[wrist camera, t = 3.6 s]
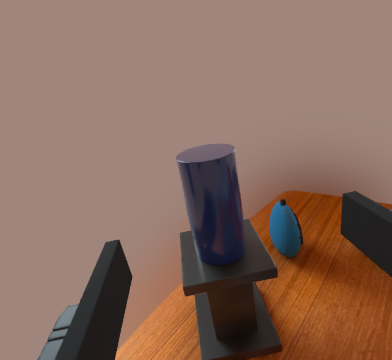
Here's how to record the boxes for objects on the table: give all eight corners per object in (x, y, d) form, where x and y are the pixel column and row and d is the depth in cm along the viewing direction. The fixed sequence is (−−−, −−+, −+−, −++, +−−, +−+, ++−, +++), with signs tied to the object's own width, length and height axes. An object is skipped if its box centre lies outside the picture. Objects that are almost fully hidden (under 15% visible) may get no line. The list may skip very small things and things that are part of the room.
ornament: (310, 265, 37) (310, 209, 33) (280, 269, 37) (277, 214, 34) (290, 234, 45) (288, 186, 41) (265, 237, 45) (262, 190, 41)
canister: (199, 271, 23) (177, 167, 19) (192, 238, 29) (174, 151, 25) (254, 258, 24) (243, 153, 20) (237, 228, 29) (226, 140, 25)
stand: (203, 368, 26) (182, 287, 22) (196, 300, 35) (179, 232, 30) (282, 351, 27) (277, 267, 22) (256, 288, 35) (248, 218, 31)
